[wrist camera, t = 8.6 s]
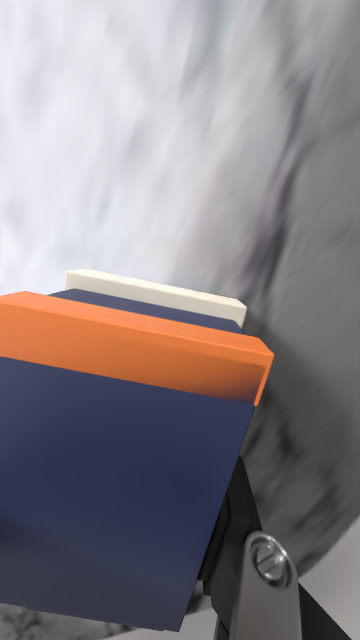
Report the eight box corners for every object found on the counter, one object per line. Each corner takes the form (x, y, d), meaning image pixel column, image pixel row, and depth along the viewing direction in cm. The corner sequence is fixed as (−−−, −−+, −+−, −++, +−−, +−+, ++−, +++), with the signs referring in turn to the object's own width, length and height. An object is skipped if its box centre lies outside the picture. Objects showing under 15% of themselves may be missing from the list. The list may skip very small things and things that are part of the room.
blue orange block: (85, 268, 9) (-29, 278, 4) (238, 299, 9) (294, 343, 4) (65, 512, 12) (-9, 666, 7) (174, 531, 12) (167, 694, 8)
